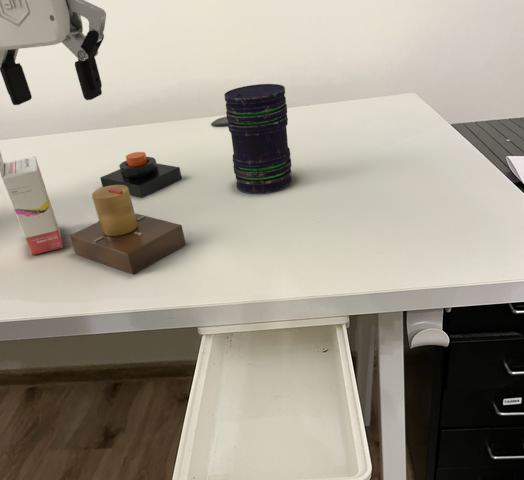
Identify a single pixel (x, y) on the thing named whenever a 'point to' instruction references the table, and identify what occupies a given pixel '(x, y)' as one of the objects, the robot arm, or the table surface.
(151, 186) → the button block
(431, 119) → the table surface
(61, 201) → the table surface
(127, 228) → the dial
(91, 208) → the table surface
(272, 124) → the dark blue barrel
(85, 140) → the table surface
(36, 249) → the ink cartridge box
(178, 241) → the dial panel
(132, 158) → the button
